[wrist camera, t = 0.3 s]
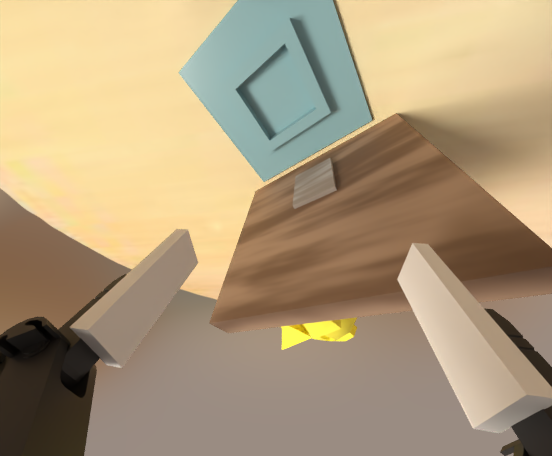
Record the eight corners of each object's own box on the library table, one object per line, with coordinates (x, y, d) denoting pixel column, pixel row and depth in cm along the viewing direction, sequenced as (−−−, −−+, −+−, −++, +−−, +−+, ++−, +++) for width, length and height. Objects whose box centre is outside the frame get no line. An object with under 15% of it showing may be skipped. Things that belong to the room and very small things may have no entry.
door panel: (254, 189, 40) (205, 321, 21) (395, 109, 27) (572, 256, 9) (264, 201, 42) (228, 333, 23) (401, 132, 29) (557, 293, 11)
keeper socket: (179, 72, 28) (173, 74, 26) (305, -81, 18) (305, -90, 17) (264, 180, 38) (262, 186, 37) (371, 119, 29) (374, 123, 27)
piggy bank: (317, 241, 48) (320, 322, 34) (369, 273, 54) (389, 353, 41) (272, 273, 61) (261, 342, 47) (319, 296, 67) (321, 363, 53)
